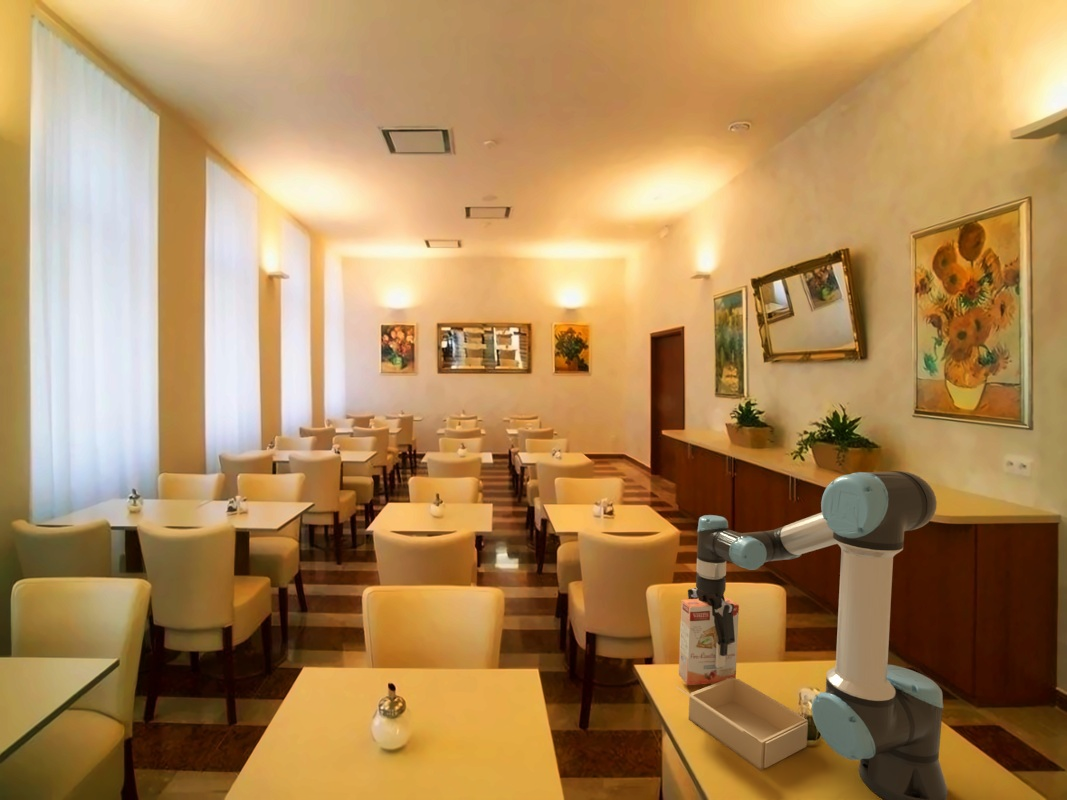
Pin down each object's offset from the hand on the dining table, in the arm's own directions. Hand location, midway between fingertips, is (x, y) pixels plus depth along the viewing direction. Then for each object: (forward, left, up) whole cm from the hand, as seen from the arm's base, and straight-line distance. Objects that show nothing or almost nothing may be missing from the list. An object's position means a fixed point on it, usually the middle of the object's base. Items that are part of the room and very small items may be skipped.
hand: (707, 659), depth 151 cm
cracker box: (0, 0, -5) cm, 5 cm away
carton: (-19, +8, -7) cm, 21 cm away
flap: (-19, +16, -1) cm, 25 cm away
